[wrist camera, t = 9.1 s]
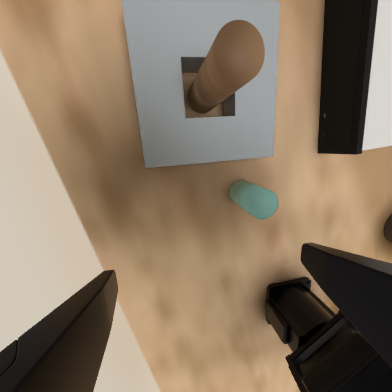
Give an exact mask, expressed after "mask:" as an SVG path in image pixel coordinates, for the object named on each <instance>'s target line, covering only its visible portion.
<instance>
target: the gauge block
mask: <svg viewBox="0 0 392 392" xmlns="http://www.w3.org/2000/svg"><path fill="white" fill-rule="evenodd" d="M121 2H122V9H123V16H124V23H125V30H126V37H127V44H128V51H129V58H130V65H131V72H132V79H133V86H134V93H135V100H136V107H137V114H138V121H139V127H140V134H141V141H142V148H143V155H144V162H145V168H153V167H164V166H175V165H186V164H197V163H208V162H219V161H231V160H242V159H253V158H264V157H273V153H274V129H275V105H276V81H277V57H278V34H279V10H280V1H270V0H121ZM233 20H245V21H247V22H249V23H251V24H252V25H254V26H255V27H256V28H257V30H258V31H259V32H260V34H261V36H262V39H263V42H264V47H265V58H264V62H263V66H262V68H261V70H260V72H259V73H258V74H257V76H256V77H255V78H253V79H252V80H251V81H250V82H248V83H247V84H245V85H244V86H243V87H241V88H240V89H239V90H237V91H236V92H235V93H233V94H232V95H231V96H229V97H228V98H226V99H225V100H224V116H222V117H202V118H185V106H184V93H183V81H182V72H199V70H200V68H201V66H202V64H203V62H204V60H205V58H206V56H207V54H208V52H209V50H210V48H211V46H212V44H213V42H214V40H215V38H216V36H217V34H218V32H219V31H220V29H221V28H222V27H223V26H224V25H225V24H227V23H228V22H230V21H233Z"/></svg>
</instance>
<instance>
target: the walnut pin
mask: <svg viewBox="0 0 392 392" xmlns="http://www.w3.org/2000/svg"><path fill="white" fill-rule="evenodd" d="M264 58H265V47H264V42H263V39H262V36H261V34H260V32H259V31H258V30H257V28H256V27H255V26H254V25H252V24H251V23H249V22H247V21H245V20H233V21H230V22H228V23H227V24H225V25H224V26H223V27H222V28H221V29H220V31H219V32H218V34H217V36H216V38H215V40H214V42H213V44H212V46H211V48H210V50H209V52H208V54H207V56H206V58H205V60H204V62H203V64H202V66H201V68H200V70H199V72H198V74H197V76H196V78H195V79H194V81H193V83H192V85H191V87H190V89H189V92H188V102H189V105H190V107H191V108H192V109H193V110H194V111H196V112H198V113H207V112H209V111H210V110H212V109H213V108H214V107H216V106H217V105H218V104H220V103H221V102H222V101H224V100H225V99H226V98H228V97H229V96H231V95H232V94H233V93H235V92H236V91H237V90H239V89H240V88H241V87H243V86H244V85H245V84H247V83H248V82H250V81H251V80H252V79H253V78H255V77H256V76H257V74H258V73H259V72H260V70H261V68H262V66H263V62H264Z"/></svg>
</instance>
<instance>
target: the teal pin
mask: <svg viewBox="0 0 392 392" xmlns="http://www.w3.org/2000/svg"><path fill="white" fill-rule="evenodd" d="M229 195H230V198H231V200H232V201H233V202H235V203H236V204H237V205H239V206H240V207H241V208H243V209H244V210H245V211H247V212H248V213H249V214H251V215H252V216H253V217H255V218H257V219H266V218H269V217H270V216H272V215H273V214H274V212H275V211H276V209H277V206H278V198H277V196H276V194H275V193H274V192H273V191H271V190H268V189H266V188H263V187H260V186H258V185H255V184H253V183H250V182H248V181H245V180H239V181H236V182H235V183H234V184H233V185H232V186H231V188H230V191H229Z"/></svg>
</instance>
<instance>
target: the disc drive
mask: <svg viewBox="0 0 392 392" xmlns="http://www.w3.org/2000/svg"><path fill="white" fill-rule="evenodd" d="M386 146H392V0H325V11H324V32H323V53H322V75H321V96H320V117H319V138H318V153H327V154H361V153H362V151H363V150H369V149H375V148H380V147H386Z"/></svg>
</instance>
